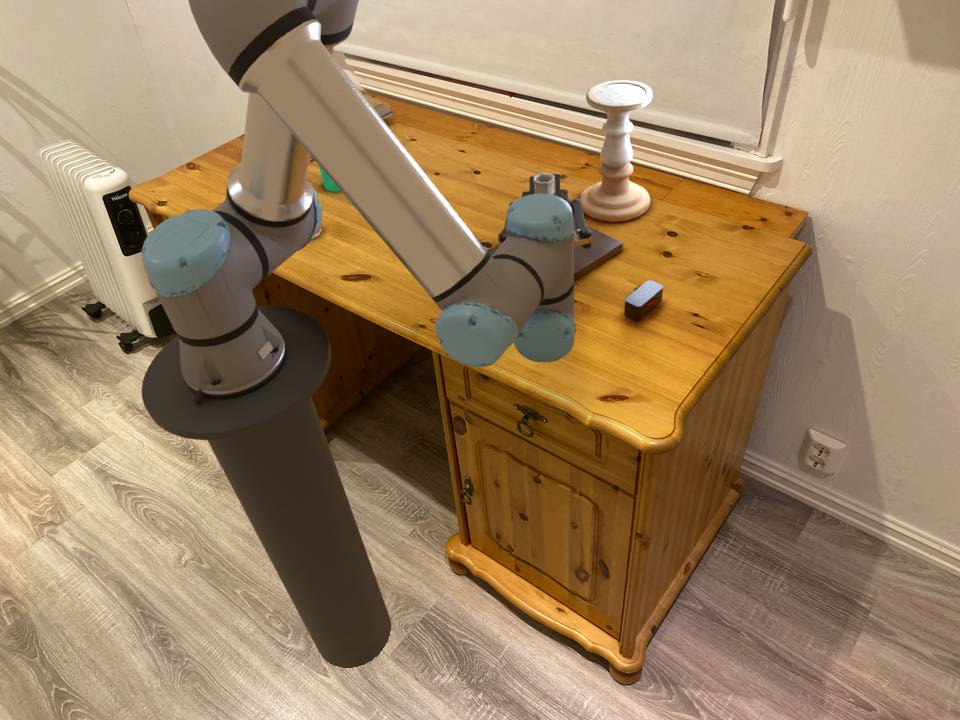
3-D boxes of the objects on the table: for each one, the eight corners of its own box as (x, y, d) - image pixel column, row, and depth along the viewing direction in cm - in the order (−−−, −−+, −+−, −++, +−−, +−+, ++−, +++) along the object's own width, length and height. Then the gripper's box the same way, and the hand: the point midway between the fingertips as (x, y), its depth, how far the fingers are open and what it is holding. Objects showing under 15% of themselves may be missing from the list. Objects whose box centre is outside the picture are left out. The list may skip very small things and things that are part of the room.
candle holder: (626, 230, 120) (632, 115, 107) (565, 210, 127) (564, 99, 113) (662, 198, 127) (673, 85, 113) (604, 180, 133) (607, 72, 120)
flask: (557, 251, 109) (556, 193, 103) (515, 242, 112) (511, 185, 106) (576, 227, 114) (576, 170, 107) (535, 219, 117) (532, 162, 110)
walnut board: (534, 306, 108) (534, 298, 107) (470, 267, 116) (469, 260, 115) (622, 250, 116) (623, 242, 115) (556, 218, 125) (556, 210, 124)
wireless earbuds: (666, 300, 106) (668, 283, 104) (638, 325, 102) (639, 307, 100) (639, 289, 108) (641, 272, 106) (611, 313, 105) (612, 295, 103)
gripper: (486, 294, 99) (495, 206, 117) (605, 290, 98) (596, 202, 115) (481, 249, 94) (491, 164, 112) (606, 244, 93) (597, 158, 110)
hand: (545, 183), depth 113 cm, fingers closed on flask, 3 cm apart
